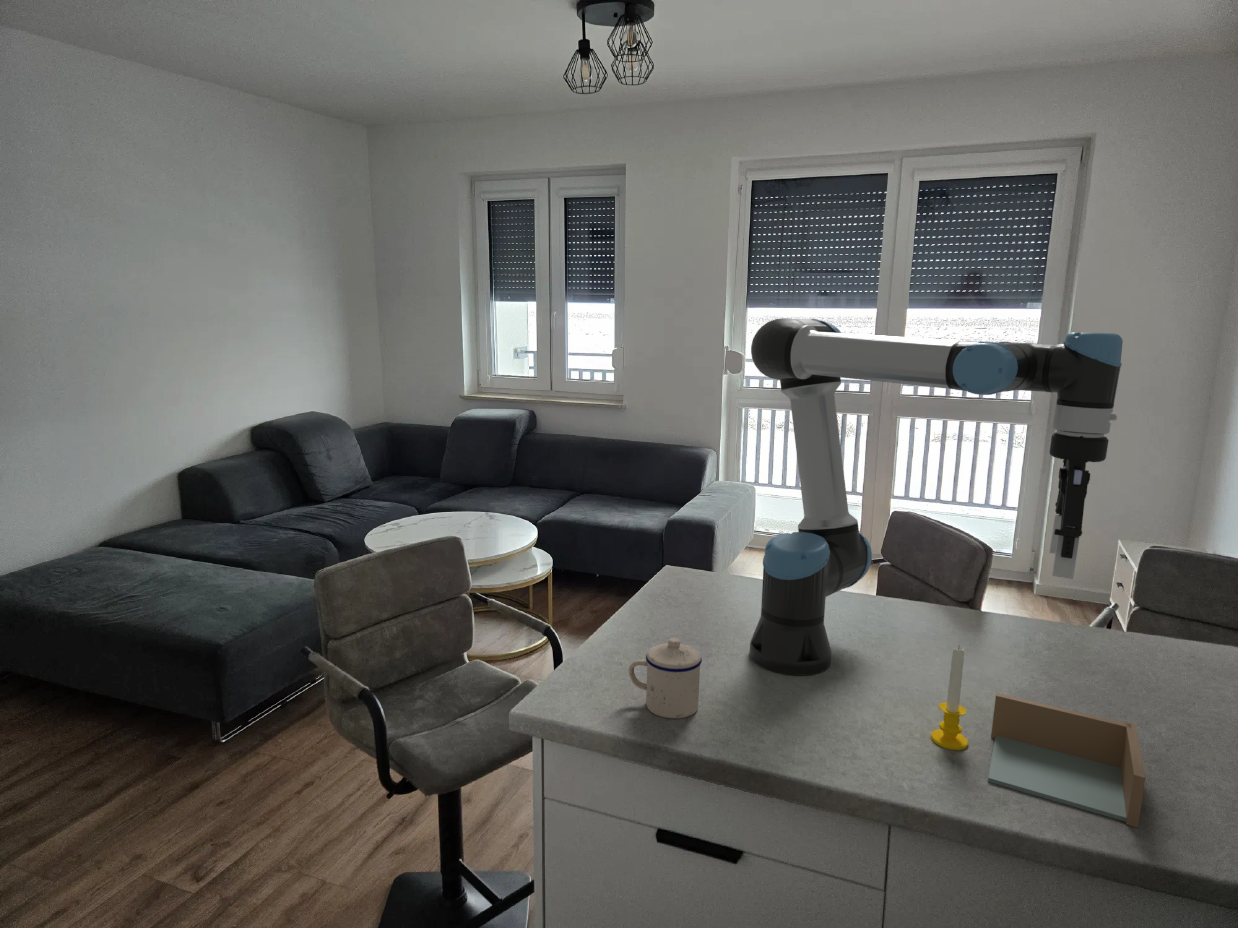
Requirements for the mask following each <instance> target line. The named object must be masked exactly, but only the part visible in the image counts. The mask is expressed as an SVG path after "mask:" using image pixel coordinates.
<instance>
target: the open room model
mask: <svg viewBox="0 0 1238 928" xmlns="http://www.w3.org/2000/svg"><path fill="white" fill-rule="evenodd" d="M993 709H994V710H993V716H992V717H993V718H992V726H991V735H990V738H991V739H993V740H994V743H993V747H992V753H991V759H990V765H989V770H988V777H987V782H988V783H992V784H995V785H999V786H1001V787H1006V788H1008V789H1011V790H1015V791H1019V792H1022V793H1026V794H1029V795H1032V796H1035V797H1039V798H1043V799H1047V800H1050V801H1053V802H1056V803H1060V804H1063V805H1067V806H1070V807H1073V808H1077V809H1080V810H1083V811H1087V812H1091V813H1094V814H1096V815H1097V814H1098V815H1101V816H1105V817H1107V818H1111V819H1115V820H1118V821H1122V822H1125V825H1126V826H1129V827H1130V826H1131V827H1133V828H1139V821H1140V815H1141V808H1142V803H1143V795H1144V790H1145V784H1146V773H1145V768H1144V767H1145V766H1144V762H1143V756H1142V750H1141V746H1140V739H1139V736H1138V735H1139V734H1138V729H1137V723H1134V722H1131V721H1127V720H1126V721H1125V722H1123V721H1119V720H1114V719H1110V718H1107V717H1101V716H1097V715H1093V714H1090V713H1089V714H1088V713H1084V712H1081V711H1080V712H1079V711H1077V710H1073V709H1068V708H1063V707H1059V706H1055V705H1050V704H1047V703H1042V702H1038V701H1034V700H1030V699H1025V698H1021V697H1017V696H1012V695H1008V694H1004V693H1000V692H995V700H994V707H993Z"/></svg>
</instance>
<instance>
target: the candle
mask: <svg viewBox="0 0 1238 928" xmlns="http://www.w3.org/2000/svg"><path fill="white" fill-rule="evenodd" d="M951 655H952V657H951V661H950V662H951V663H950V673H949V681H948V682H949V683H948V689H947V699H946V700H947V701H944V702H941V703H939V705H938V709H939V710H941V711H942V712H943V713H944V714H943V720H942V721H940V722H939V727H938V729H934V730H933V731H931V733H930V739H931V741H932V742H933V743H934V744H936V745H937V746H939V747H941V748H944V749H947V750H951V751H961V750H965V749H967V747H968V746H969V740H968V738H967V737H965V735H963V734H962V732H963V727H962V726H961V725H960V721H961V720H960V716H964V715H966V714H967V709H966V708H965V707H964V706H963V705H961V704H960V702H961V701H960V700H961V690H962V680H963V669H964V660H965V659H964V658H965V649H964V648H960V646H958V647H954V648H953V649H952V654H951Z"/></svg>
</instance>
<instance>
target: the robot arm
mask: <svg viewBox="0 0 1238 928" xmlns="http://www.w3.org/2000/svg"><path fill="white" fill-rule="evenodd" d="M1123 341H1124V340H1123V338H1122V337H1121V335H1120V334H1118V333H1114V332H1112V333H1111V332H1085V331H1084V332H1082V331H1081V332H1078V331H1071V332H1069V333H1067V334H1066V336H1065V340H1064V341H1063V343H1053V344H1047V343H1045V344H1044V343H1030V342H1029V343H1028V342H1011V341H999V342H997V341H996V342H993V341H992V342H991V341H971V340H957V339H956V340H954V339H938V338H927V337H926V338H922V337H909V336H893V335H880V334H879V335H877V334H861V333H860V334H859V333H846V332H842V331H840V329H839V328H838V327H836V326H835V325H834V324H832V323H830V322H827V321H825V320H822V319H818V318H809V319H808V318H805V319H804V318H788V317H787V318H786V317H785V318H784V317H783V318H775V319H772V320H769V321H767V322H766V323H764V324H763V325H762V326H760V328H759V329H758V330H757V331H756V333H755V334H754V336H753V338H752V340H751V345H750V354H751V358H752V361H753V364H754V366H755V368H757V370H758V371H759V372H760V373H761V374H763V375H764V376H766V377H767V378H770V379H772V380H776V381H777V380H778V381H779V384H780V391H781V393H783V394H784V395H785V396H786V397H788V399H789V401H790V409H791V417H792V424H793V425H792V426H793V433H794V441H795V442H794V443H795V451H796V452H795V453H796V459H797V468H798V475H799V482H800V483H799V484H800V491H801V499H802V509H803V518H802V520H801V521H800V522H799V523H798V524H797V531H794V532H792V533H791V532H784V533H781V534H778V535H775V536H773V537H772V538H770V539H769V540H768V542H767V543H766V545H765V547H764V554H763V558H762V566H763V568H762V572H763V573H762V589H761V590H762V591H761V608H760V617H759V620H758V622H757V625H756V627H755V629H754V632H753V634H752V637H751V640H750V642H749V657H750V658H751V660H752V662H754V663H755V664H756V665H758V666H760V667H761V668H763V669H766V670H768V671H771V672H774V673H778V674H784V675H788V676H789V675H790V676H809V675H817V674H820V673H822V672H825V671H826V670H828V669H829V667H831V661H832V649H831V646H830V642H829V637H828V634H827V630H826V626H825V610H826V600H827V599H826V597H828V596H829V597H830V595H832V594H833V595H834V594H835V593H837V592H839V591H841V590H845V589H847V588H851V587H853V586H854V585H856V584H857V583H858V582H859V581H860V580H862V579H863V578H864V577H865V576H866V574H867V573H868V572H869V569H870V567H871V565H872V558H873V557H872V556H873V555H872V548H871V545H870V542H869V540H868V538H867V537H865V536H864V535H863V533H862V532H861V531H860V529H859V522H858V519H857V518H856V517H855V516H853V515H852V514H850V512H849V506H848V505H849V504H848V497H847V496H848V495H847V489H846V482H845V481H846V480H845V471H844V463H843V455H842V448H841V447H842V446H841V439H840V431H839V422H838V414H837V406H836V398H835V393H836V391H837V390H838V388H839V387H840V386H841V384H842V380H841V378H842V379H853V380H854V379H855V380H862V381H870V382H871V381H872V382H882V383H888V384H889V383H891V384H899V385H900V384H901V385H911V386H920V387H928V388H929V387H930V388H940V389H946V390H947V389H949V390H956V391H962V392H967V393H970V394H973V395H977V396H978V395H979V396H980V395H981V396H990V395H991V396H992V395H995V394H998V393H1003V392H1012V391H1029V392H1042V393H1043V392H1045V393H1057V399H1056V404H1055V408H1054V415H1053V416H1054V417H1053V422H1052V428H1053V429H1054V430H1055V432H1053V433H1052V434H1051V437H1050V439H1051V440H1050V445H1049V446H1050V448H1049V454H1050V456H1051V457H1053V458H1056V459H1060V460H1063V461H1062V463H1063V464H1062V465H1063V467H1059V469H1058V479H1059V480H1058V486H1057V487H1058V495H1057V498H1056V499H1057V500H1056V502H1055V510H1054V511H1055V514H1054V519H1053V520H1054V521H1053V526H1052V531H1051V532H1052V534H1051V539H1050V541H1051V542H1050V548H1049V554H1053V555H1055V556H1054V560H1053V567H1052V573H1051V574H1052V577H1058V578H1064V579H1069V580H1074V576H1075V568H1076V562H1077V557H1078V555H1077V554H1078V548H1079V543H1080V542H1079V541H1080V537H1081V536H1082V535H1083V530H1082V529H1083V520H1084V519H1083V517H1084V510H1085V500H1086V497H1087V493H1088V485H1089V483H1090V480H1091V473H1090V471H1089V470H1087V469H1086V467H1087V463H1099V462H1103V461H1105V460H1106V459H1107V453H1108V447H1109V439H1108V437H1107V436H1105V435H1108V434H1109V433H1110V432H1111V431H1110V430H1111V425H1112V423H1111V422H1110V421H1116V420H1117V417H1118V415H1117V414H1115V413H1113V411H1114V406H1115V399H1116V395H1117V390H1118V389H1117V388H1118V382H1119V377H1120V371H1121V367H1122V353H1123Z"/></svg>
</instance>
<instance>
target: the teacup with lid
mask: <svg viewBox="0 0 1238 928" xmlns="http://www.w3.org/2000/svg"><path fill="white" fill-rule="evenodd" d="M702 662H703V660H702V656H701V653H700V652H699V651H698V650H697V649H696V648H694V647H692V646H690V645H687V644H683V643H681V640H680V639H679V638H677V637H672V638H669V639H668V640H667V642H666V643H662V644H661V643H660V644H657V645H654V646H652V647H651V648H649V649H648V651H647V652H646V655H645V659H642V658H640V659H636V660H634V661H633V662H631V663H630V665H629V668H628V674H629V678H630V681H631V682H632V684H633V685H634V686H635V687H636V688H638V689H641V690H644V691H646V692H645V694H646V697H645V698H646V699H645V700H646V701H645V704H646V705H645V706H646V707H647V709H648V710H649V711H650V712H651V713H652V714H655V715H656V716H659V717H661V718H667V719H683V718H687V717H691V716H692V715H693V714H695V713H696V712H697V711H698V709H699V701H700V700H699V697H700V696H699V695H700V677H701V675H700V674H701V673H700V671H701V664H702ZM637 666H644V667H646V683H644V682H641V681H640V680H639V679H638V678H637V676H636V674H635V667H637Z"/></svg>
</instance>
